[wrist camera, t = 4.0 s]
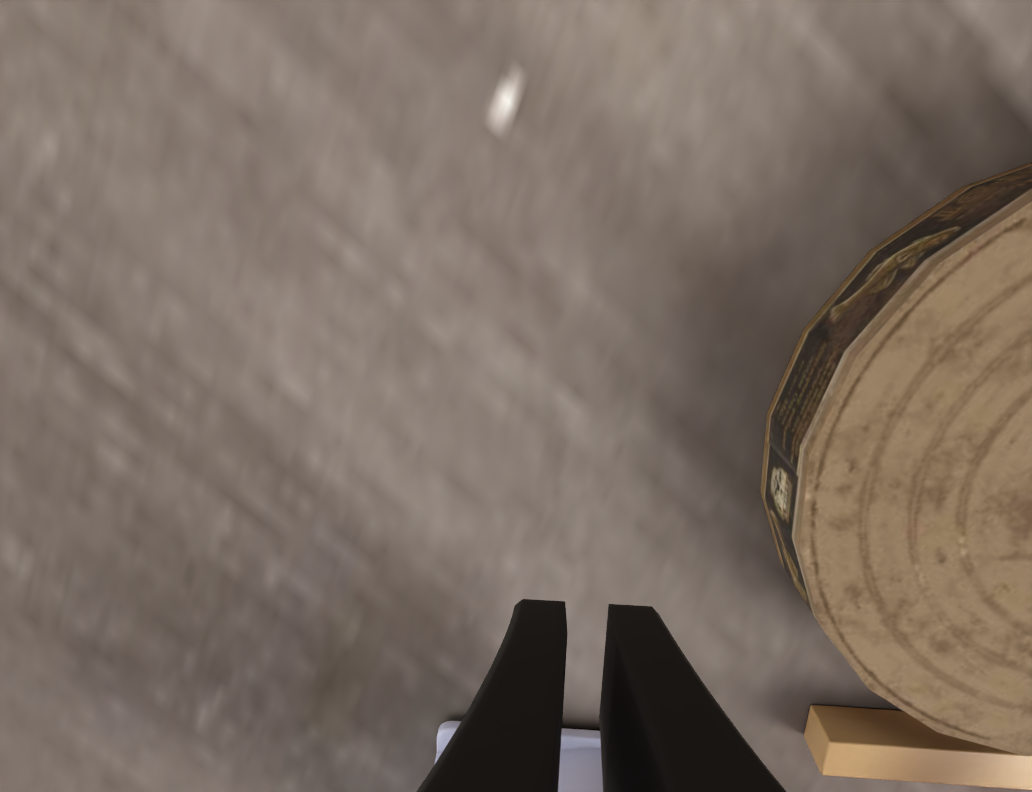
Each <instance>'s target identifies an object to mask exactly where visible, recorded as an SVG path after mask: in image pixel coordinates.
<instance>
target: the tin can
mask: <svg viewBox="0 0 1032 792" xmlns="http://www.w3.org/2000/svg"><path fill="white" fill-rule="evenodd" d="M760 492H761V496H762V499H763V503H764V506H765V510H766V513H767V517H768V520H769V524H770V527H771V531H772V534H773V538H774V541H775V545H776V548H777V552H778V555H779V559H780V562H781V563H782V565H783V567H784V568H785V570H786V571H787V573H788V575H789V576H790V578H791V579H792V581H793V583H794V584H795V586H796V587H797V589H798V591H799V592H800V594H801V596H802V597H803V599H804V600H805V602H806V604H807V605H808V607H809V608H810V610H811V612H812V613H813V615H814V616H815V618H816V620H817V621H818V623H819V625H820V626H821V628H822V629H823V630H824V631H825V633H826V634H827V635H828V637H829V638H830V639H831V641H832V642H833V643H834V644H835V646H836V647H837V648H838V650H839V651H840V652H841V654H842V655H843V656H844V657H845V659H846V660H847V661H848V663H849V664H850V665H851V667H852V668H853V669H854V670H855V672H856V673H857V674H858V676H859V677H860V678H861V680H862V681H863V682H864V684H865V685H866V686H867V687H868V689H869V690H871V691H873V692H874V693H876V694H877V695H879V696H881V697H882V698H884V699H885V700H887V701H889V702H890V703H892V704H893V705H895V706H896V707H898V708H900V709H901V710H903V711H904V712H906V713H908V714H909V715H911V716H912V717H914V718H916V719H917V720H919V721H920V722H922V723H924V724H925V725H927V726H928V727H930V728H931V729H933V730H935V731H936V732H938V733H941V734H945V735H949V736H952V737H956V738H960V739H963V740H967V741H971V742H975V743H978V744H982V745H986V746H989V747H993V748H997V749H1000V750H1004V751H1008V752H1012V753H1015V754H1019V755H1023V756H1032V163H1029V164H1026V165H1023V166H1021V167H1018V168H1015V169H1012V170H1009V171H1006V172H1004V173H1001V174H998V175H995V176H992V177H990V178H987V179H984V180H981V181H978V182H975V183H973V184H970V185H967V186H964V187H962V188H960V189H959V190H957V191H956V192H954V193H953V194H951V195H950V196H949V197H947V198H946V199H944V200H943V201H941V202H940V203H938V204H937V205H936V206H934V207H933V208H931V209H930V210H928V211H927V212H925V213H924V214H923V215H921V216H920V217H918V218H917V219H915V220H914V221H912V222H911V223H910V224H908V225H907V226H905V227H904V228H902V229H901V230H899V231H898V232H897V233H895V234H894V235H892V236H891V237H889V238H888V239H886V240H885V241H884V242H882V243H881V244H879V245H878V246H876V247H875V248H873V249H872V250H870V251H869V253H868V254H867V255H866V256H865V257H864V258H863V260H862V261H861V262H860V263H859V264H858V266H857V267H856V268H855V269H854V270H853V272H852V273H851V274H850V275H849V276H848V277H847V279H846V280H845V281H844V282H843V283H842V285H841V286H840V287H839V288H838V289H837V291H836V292H835V293H834V294H833V295H832V296H831V298H830V299H829V300H828V301H827V302H826V304H825V305H824V306H823V307H822V308H821V309H820V311H819V312H818V313H817V314H816V315H815V317H814V318H813V319H812V320H811V321H810V323H809V324H808V325H807V326H806V327H805V328H804V330H803V332H802V334H801V337H800V339H799V341H798V344H797V346H796V348H795V350H794V353H793V355H792V357H791V360H790V362H789V364H788V366H787V369H786V371H785V373H784V376H783V378H782V380H781V382H780V385H779V387H778V389H777V392H776V394H775V396H774V398H773V401H772V403H771V405H770V408H769V410H768V412H767V422H766V433H765V445H764V456H763V468H762V479H761V491H760Z"/></svg>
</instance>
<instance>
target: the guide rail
mask: <svg viewBox="0 0 1032 792" xmlns="http://www.w3.org/2000/svg"><path fill="white" fill-rule="evenodd" d="M804 738H805V740H806V742H807V745H808V747H809V749H810V751H811V753H812V755H813V758H814V760H815V762H816V764H817V766H818V768H819V771H820V773H821V774H822V775H827V776H841V777H856V778H870V779H884V780H898V781H912V782H926V783H941V784H955V785H969V786H983V787H997V788H1011V789H1026V790H1032V756H1023V755H1019V754H1015V753H1012V752H1008V751H1004V750H1000V749H997V748H993V747H989V746H986V745H982V744H978V743H975V742H971V741H967V740H963V739H960V738H956V737H952V736H949V735H945V734H941V733H938V732H936V731H935V730H933V729H931V728H930V727H928V726H927V725H925V724H924V723H922V722H920V721H919V720H917V719H916V718H914V717H912V716H911V715H909V714H908V713H906V712H904V711H899V710H883V709H868V708H852V707H837V706H821V705H811V706H810V710H809V715H808V719H807V724H806V728H805V733H804Z"/></svg>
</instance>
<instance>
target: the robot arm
mask: <svg viewBox="0 0 1032 792" xmlns="http://www.w3.org/2000/svg"><path fill="white" fill-rule="evenodd" d="M566 648H567V622H566V608H565V602H563V601H546V600H528V599H523V600H521V601H520V602H519V603H517V604H516V605H515V607H514V611H513V615H512V618H511V621H510V624H509V627H508V630H507V632H506V635H505V637H504V640H503V642H502V644H501V647H500V649H499V651H498V653H497V655H496V657H495V660H494V662H493V664H492V666H491V668H490V670H489V672H488V674H487V676H486V677H485V679H484V681H483V683H482V685H481V687H480V689H479V691H478V693H477V694H476V696H475V698H474V700H473V702H472V704H471V706H470V708H469V709H468V711H467V713H466V715H465V716H464V718H463V720H462V721H446V722H444V723H442V724H441V725H440V727H439V730H438V735H437V755H436V759H435V764H434V766H433V768H432V770H431V771H430V773H429V774H428V776H427V777H426V779H425V780H424V781H423V783H422V784H421V786H420V787H419V789H418V790H417V792H786V791H785V790H784V788H783V787H782V786H781V785H780V783H779V782H778V781H777V780H776V779H775V777H774V776H773V775H772V774H771V772H770V771H769V770H768V769H767V768H766V766H765V765H764V764H763V763H762V761H761V760H760V759H759V758H758V756H757V755H756V754H755V752H754V751H753V750H752V749H751V747H750V746H749V745H748V743H747V742H746V741H745V740H744V738H743V737H742V736H741V734H740V733H739V731H738V730H737V729H736V727H735V726H734V725H733V723H732V722H731V721H730V719H729V718H728V717H727V715H726V714H725V713H724V711H723V710H722V708H721V707H720V706H719V704H718V703H717V702H716V700H715V699H714V698H713V696H712V695H711V693H710V692H709V691H708V689H707V688H706V686H705V685H704V683H703V682H702V681H701V679H700V678H699V676H698V675H697V673H696V672H695V670H694V669H693V667H692V666H691V664H690V663H689V661H688V660H687V658H686V657H685V655H684V654H683V652H682V651H681V649H680V648H679V646H678V645H677V643H676V641H675V640H674V638H673V637H672V635H671V634H670V632H669V630H668V629H667V627H666V625H665V624H664V622H663V621H662V619H661V617H660V616H659V614H658V613H657V612H656V611H655V610H654V608H653V607H650V606H633V605H615V604H609V607H608V619H607V631H606V643H605V655H604V667H603V679H602V691H601V703H600V715H599V719H600V731H596V730H581V729H567V728H562V716H563V699H564V682H565V665H566Z"/></svg>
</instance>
